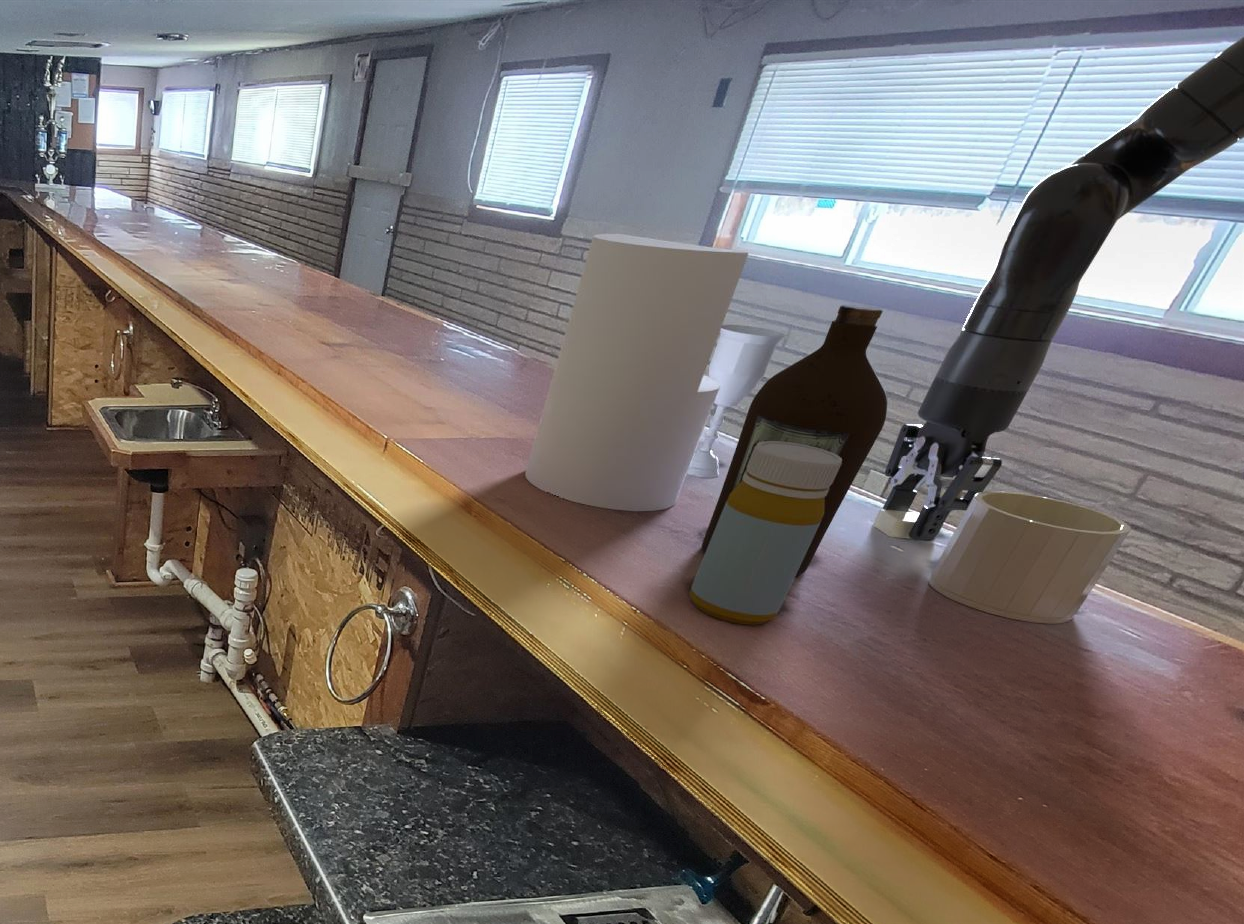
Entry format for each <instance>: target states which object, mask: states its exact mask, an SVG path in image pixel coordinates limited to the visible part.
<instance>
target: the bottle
mask: <svg viewBox="0 0 1244 924" xmlns="http://www.w3.org/2000/svg"><path fill="white" fill-rule="evenodd" d="M841 461H842V458H841V457H839V456H838V455H836V454H834V453H832V452H829V451H826V450H823V449H819V448H816V447H812V446H807V445H802V444H796V443H789V442H779V441H765V442H760V443H758V444H757V445H756V446H755V448H754V450H753V453H752V455H751V457H750V460H749V462H748V465H747V470H746V471H745V473H744V475H743V480H742V481H741V482H740V483H739V485H738V486H737V487H736V488H735V489H734V490H733V491H732V492H731V493H730V495H729V497H728V500H727V501H726V504H725V506H724V509H723V511H722V513H721V516H720V518H719V521H718V523H717V526H716V528H715V531H714V533H713V535H712V538H711V540H710V543H709V545H708V548H707V550H706V553H704V555H703V558H702V560H701V562H700V565H699V568H698V570H697V571H696V575H695V577H694V580H693V582H692V585H691V589H690V590H689V593H688V594H689V597H690V600H691V601H692V604H693V605H694V606H695V607H696V608H697V609H698V610H699V611H701V612H703V613H704V614H706V615H709V616H711V617H714V618H716V619H719V620H722V621H725V622H728V623H735V624H737V625H747V626H748V625H749V626H755V625H762V624H765V623H767V622H770V621H772V620H774V619H775V618H776V617H777V616H778V614H779V611H780V610H781V608H782V606H783V604H784V601H785V600H786V597H787V595H788V593H789V592H790V589H791V586H792V585H793V582H794V580H795V578H796V577H797V576H796V574H797V572H798V569H799V567H800V565H801V563H802V561H803V559H804V557H805V555H806V552H807V550H808V548H809V546H810V544H811V542H812V540H813V538H814V535H815V533H816V531H817V529H818V527H819V525H820V523H821V520H822V517H823V515H824V504H825V496H826V495H827V493H828V491H829V487H830V485H831V484H832V483H833V481H834V479H835V477H836V474H837V472H838V470H839V468H840V466H841V464H842V462H841Z"/></svg>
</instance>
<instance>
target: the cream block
mask: <svg viewBox="0 0 1244 924" xmlns="http://www.w3.org/2000/svg"><path fill="white" fill-rule="evenodd" d="M919 514H920V512H912V511H908V512H904V511H894V510H884V509H883V508H880V509H879V511H878V513H877V515H876V517H875V518H874V521H873V522H872V526H873V527H874V528H875V529H877V530H879V531H880V532H882V533H883V534H884V535H886V536H888V537H889V538H899V539H908V540H913V539H912V538H910V537H909V533H910V531H911V529H912V527H913V525H914V523H915V521H916V519H917V517H918V516H919ZM943 526H944V524H943V525H942V526H941V529H940V531H939V533H940V532H941V530H942V528H943ZM939 533H938V535H939ZM938 535H937V536H936V537H935V539H934V540H932V541H931V542H935V541H936V539H937V537H938Z"/></svg>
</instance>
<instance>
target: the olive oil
mask: <svg viewBox="0 0 1244 924" xmlns="http://www.w3.org/2000/svg"><path fill="white" fill-rule="evenodd" d="M882 314H883V309H882V308H878V307H873V306H868V305H858V304H842V305H840V306H839V308H838V311H837V316H836V318H835V319H834V320H832V321H831V324H830V326H829V329H828V331H827V334H826V336H825V339H824V341H823V344H822V345H821V346H820V347H819V348H817V349H816V350H815V351H813V352H812V353H810V354H807V355H806V356H805V357H803V358H801V359H800V360H797V361H795V362H794V363H792V364H791V365H789V366H787V367H786V368H784V369H782V370H780V371H778V372H777V373H776V374H774V375H773V376H771V377H770V378H769V379H768V380H766V382H765V383H764V384H763V385H762V386H761V388H760V389H759V391H758V392H757V393H756V394H755V396H754V397H753V398H752V401H751V402H750V404H749V408H748V411H747V413H746V416H745V418H744V419H745V420H744V423H743V426H742V429H741V431H740V434H739V438H738V441H737V444H736V446H735V450H734V453H733V456H732V459H731V461H730V465H729V468H728V471H727V473H726V476H725V478H724V482H723V484H722V487H721V491H720V493H719V496H718V499H717V501H716V505H715V506H714V507H715V508H714V510H713V513H712V516H711V518H710V521H709V524H708V526H707V530H706V531H705V535H704V537H703V540H702V543H701V549H702V551H703V553H704V554H705V553H706V550H707V548H708V545H709V543H710V540H711V538H712V535H713V533H714V531H715V528H716V526H717V523H718V521H719V518H720V516H721V513H722V511H723V509H724V506H725V504H726V501H727V500H728V497H729V495H730V493H731V492H732V491H733V490H734V489H735V488H736V487H737V486H738V485H739V483H740V482H741V481H742V480H743V475H744V473H745V471H746V470H747V465H748V462H749V460H750V457H751V455H752V453H753V450H754V448H755V446H756V445H757V444H758V443H760V442H765V441H779V442H789V443H796V444H802V445H807V446H812V447H816V448H819V449H823V450H826V451H829V452H832V453H834V454H836V455H838V456H839V457H841V458H842V461H841V462H842V464H841V466H840V468H839V470H838V472H837V474H836V477H835V479H834V481H833V483H832V484H831V485H830V487H829V491H828V493H827V495H826V496H825V504H824V515H823V517H822V520H821V523H820V525H819V527H818V529H817V531H816V533H815V535H814V538H813V540H812V542H811V544H810V546H809V548H808V550H807V552H806V555H805V557H804V559H803V561H802V563H801V565H800V567H799V569H798V572H797V574H796V576H795V577H798V576H800V575H801V576H802V574H805V572H806V571H807V569H808V568H809V566H810V564H811V562H812V560H813V558H814V556H815V555H816V553H817V550H818V548H819V546H820V544H821V543H822V541H823V539H824V537H825V535H826V533H827V531H828V529H829V528H830V525H831V523H832V521H833V520H834V518H835V516H836V514H837V512H838V510H839V508H840V506H841V505H842V503H843V501H844V499H845V498H846V496H847V493H848V492H849V490H850V488H851V486H852V485H853V483H854V481H855V479H856V477H857V475H858V473H859V471H860V469H861V468H862V466H863V465H864V462H865V461H866V460H867V457H868V455H869V454H870V451H871V450H872V448H873V446H874V444H875V442H876V441H877V439H878V437H879V436H880V434H881V432H882V429H883V427H884V426H885V422H886V420H887V419H886V418H887V412H888V403H889V402H888V395H887V392H886V390H885V388H884V386H883V384H882V382H881V380H880V378H879V376H878V375H877V373H876V371H875V368H874V367H873V366H872V364H871V362H870V360H869V358H868V356H867V349H868V347H869V345H870V343H871V341H872V340H873V337H874V336H875V333H876V331H877V329H878V325H876V324H877V323H878V320H879V319H880V318H881V316H882Z"/></svg>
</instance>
